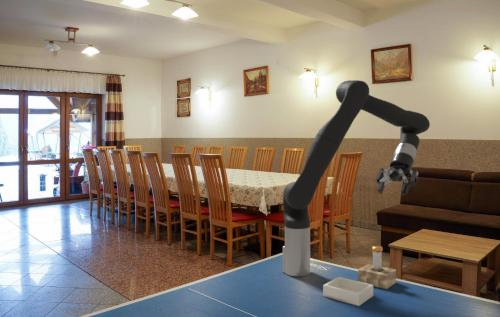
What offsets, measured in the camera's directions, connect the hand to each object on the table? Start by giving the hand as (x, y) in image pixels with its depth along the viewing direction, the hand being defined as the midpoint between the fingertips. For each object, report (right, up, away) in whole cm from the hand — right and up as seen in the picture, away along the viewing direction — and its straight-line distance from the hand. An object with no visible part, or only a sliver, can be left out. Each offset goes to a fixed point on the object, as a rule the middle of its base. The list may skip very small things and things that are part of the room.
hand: (391, 193), depth 148 cm
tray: (-19, -31, -17) cm, 40 cm away
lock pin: (-7, -30, -6) cm, 31 cm away
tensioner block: (-7, -30, -6) cm, 31 cm away
